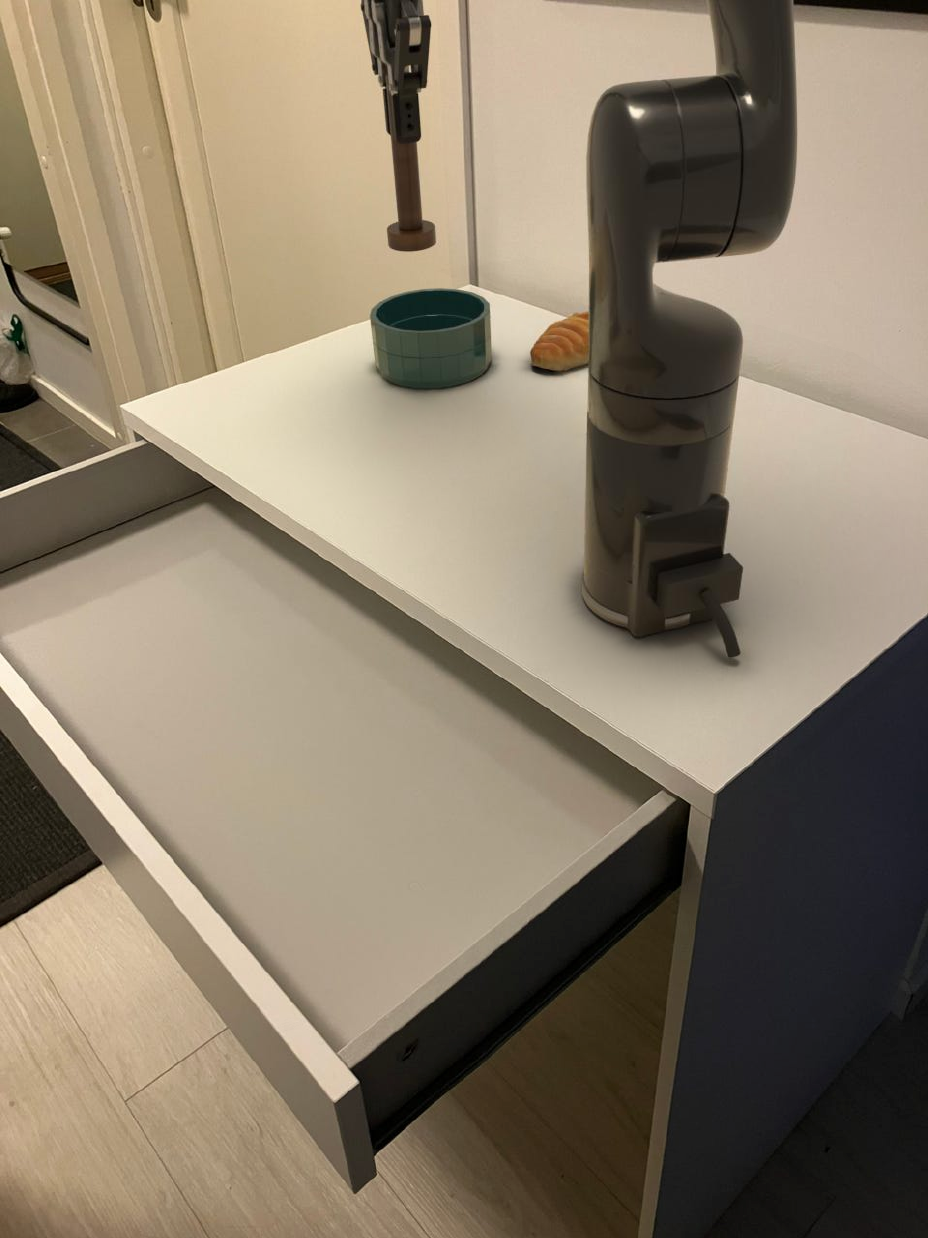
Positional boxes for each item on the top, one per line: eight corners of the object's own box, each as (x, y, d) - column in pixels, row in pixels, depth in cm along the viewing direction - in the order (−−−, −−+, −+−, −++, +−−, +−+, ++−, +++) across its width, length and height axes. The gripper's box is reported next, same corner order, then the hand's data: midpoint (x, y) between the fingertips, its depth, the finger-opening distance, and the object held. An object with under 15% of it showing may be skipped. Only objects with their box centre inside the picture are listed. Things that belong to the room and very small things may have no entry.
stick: (442, 247, 92) (431, 75, 83) (395, 254, 91) (379, 81, 82) (428, 232, 95) (416, 65, 87) (383, 239, 94) (366, 71, 86)
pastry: (565, 381, 102) (565, 345, 100) (513, 366, 106) (512, 331, 103) (618, 350, 108) (619, 315, 105) (567, 337, 111) (567, 302, 109)
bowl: (508, 377, 104) (506, 320, 100) (392, 398, 101) (386, 340, 98) (471, 334, 113) (468, 281, 109) (365, 353, 110) (358, 299, 107)
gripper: (317, -109, 81) (344, 126, 92) (356, -100, 71) (381, 163, 82) (408, -116, 83) (423, 116, 94) (459, -109, 72) (470, 151, 83)
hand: (404, 137), depth 88 cm, fingers closed on stick, 2 cm apart
